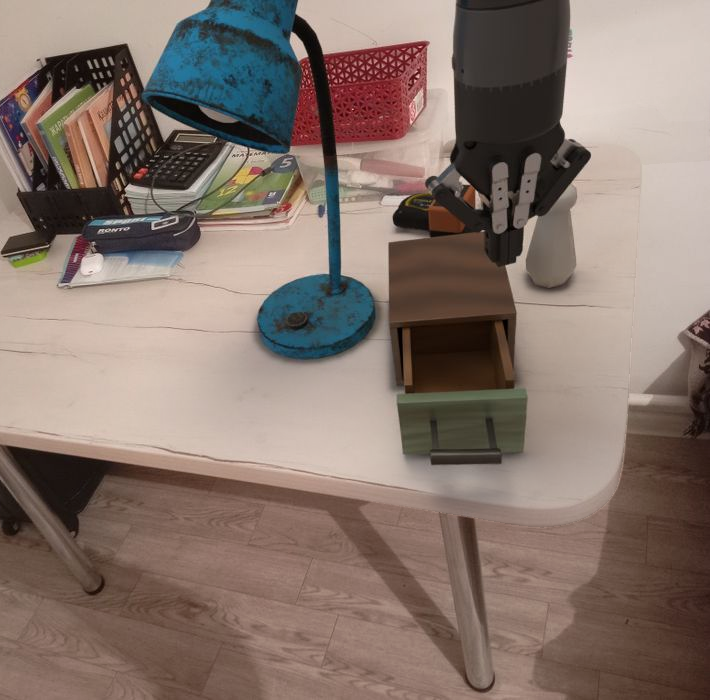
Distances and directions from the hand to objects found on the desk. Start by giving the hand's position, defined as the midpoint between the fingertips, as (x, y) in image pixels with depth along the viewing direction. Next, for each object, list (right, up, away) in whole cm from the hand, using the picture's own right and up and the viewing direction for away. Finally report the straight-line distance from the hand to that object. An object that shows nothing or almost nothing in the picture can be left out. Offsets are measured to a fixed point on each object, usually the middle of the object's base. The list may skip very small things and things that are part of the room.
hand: (503, 260), depth 55 cm
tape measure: (+4, +11, +40) cm, 42 cm away
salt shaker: (+16, +1, +24) cm, 29 cm away
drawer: (-1, -15, +10) cm, 18 cm away
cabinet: (+2, -7, +20) cm, 22 cm away
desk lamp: (-15, -5, +28) cm, 32 cm away
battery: (+7, +6, +33) cm, 34 cm away
